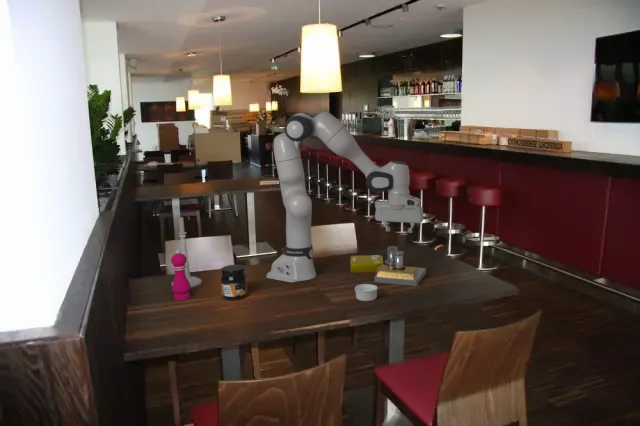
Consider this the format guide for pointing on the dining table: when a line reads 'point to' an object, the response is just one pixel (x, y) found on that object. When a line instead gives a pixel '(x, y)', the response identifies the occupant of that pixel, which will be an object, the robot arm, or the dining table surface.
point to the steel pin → (398, 260)
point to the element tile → (365, 263)
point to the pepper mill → (180, 277)
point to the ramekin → (366, 292)
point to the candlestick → (192, 280)
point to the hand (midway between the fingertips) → (398, 232)
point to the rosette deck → (398, 272)
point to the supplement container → (233, 282)
